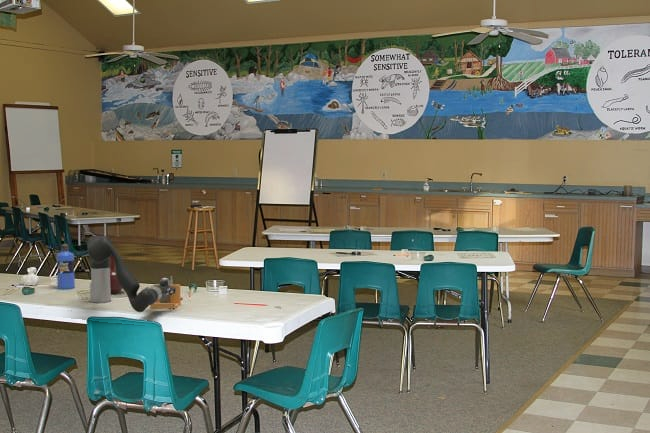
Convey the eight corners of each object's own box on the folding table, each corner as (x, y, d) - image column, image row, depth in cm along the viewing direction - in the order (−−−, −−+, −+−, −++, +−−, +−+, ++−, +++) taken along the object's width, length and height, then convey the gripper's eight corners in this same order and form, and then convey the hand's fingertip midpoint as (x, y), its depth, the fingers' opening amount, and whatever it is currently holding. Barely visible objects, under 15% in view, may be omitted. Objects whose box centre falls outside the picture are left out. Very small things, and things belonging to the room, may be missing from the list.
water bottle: (60, 286, 456) (59, 242, 454) (77, 286, 456) (75, 242, 454) (55, 289, 447) (53, 244, 445) (72, 289, 447) (70, 244, 445)
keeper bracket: (150, 308, 391) (149, 288, 390) (157, 304, 402) (156, 284, 401) (174, 309, 390) (174, 288, 389) (180, 304, 401) (180, 284, 400)
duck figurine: (39, 289, 461) (47, 272, 467) (31, 283, 456) (39, 265, 461) (23, 288, 466) (31, 271, 472) (15, 281, 460) (23, 264, 466)
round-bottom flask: (129, 291, 440) (128, 254, 439) (120, 295, 427) (119, 258, 426) (106, 290, 442) (105, 254, 440) (96, 295, 429) (95, 257, 428)
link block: (160, 305, 394) (159, 279, 393) (162, 303, 398) (161, 277, 397) (168, 305, 394) (167, 279, 393) (170, 303, 398) (169, 277, 397)
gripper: (168, 286, 376) (178, 280, 392) (138, 286, 377) (149, 280, 393) (169, 302, 376) (178, 296, 392) (139, 302, 377) (149, 295, 394)
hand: (163, 288), depth 393 cm, fingers open, 8 cm apart
